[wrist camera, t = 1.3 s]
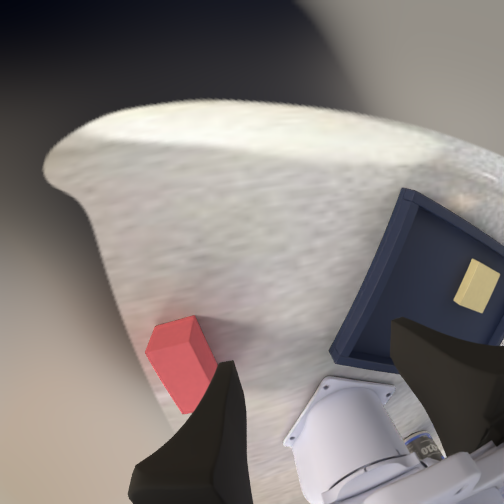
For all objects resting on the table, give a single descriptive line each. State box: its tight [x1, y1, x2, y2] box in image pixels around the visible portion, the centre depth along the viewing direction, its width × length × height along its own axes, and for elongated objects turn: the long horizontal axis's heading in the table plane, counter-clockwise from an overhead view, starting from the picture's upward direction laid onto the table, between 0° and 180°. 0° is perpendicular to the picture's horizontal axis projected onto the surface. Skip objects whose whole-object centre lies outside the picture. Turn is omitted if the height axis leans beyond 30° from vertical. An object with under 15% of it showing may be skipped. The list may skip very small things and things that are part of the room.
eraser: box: [145, 315, 218, 414], centre depth 21 cm, size 6×3×4 cm, turn 17°
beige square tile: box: [454, 259, 500, 313], centre depth 22 cm, size 4×4×1 cm
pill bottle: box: [404, 431, 445, 461], centre depth 25 cm, size 5×5×8 cm
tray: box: [329, 188, 504, 374], centre depth 22 cm, size 14×20×2 cm
